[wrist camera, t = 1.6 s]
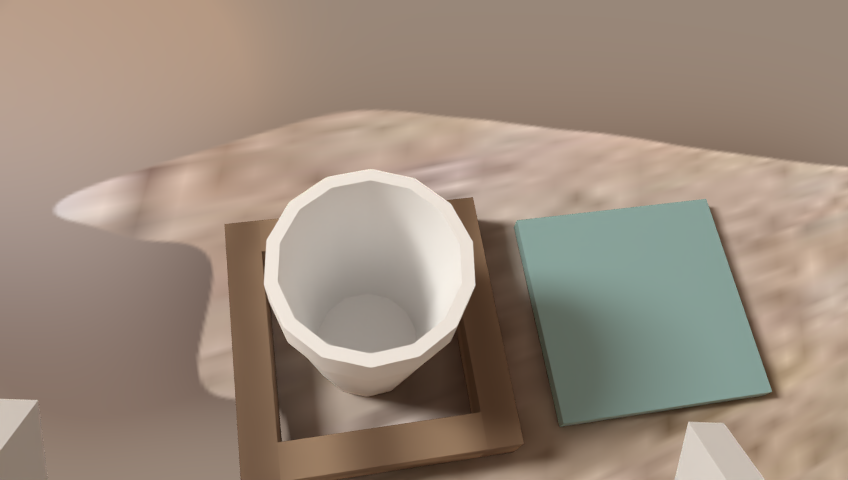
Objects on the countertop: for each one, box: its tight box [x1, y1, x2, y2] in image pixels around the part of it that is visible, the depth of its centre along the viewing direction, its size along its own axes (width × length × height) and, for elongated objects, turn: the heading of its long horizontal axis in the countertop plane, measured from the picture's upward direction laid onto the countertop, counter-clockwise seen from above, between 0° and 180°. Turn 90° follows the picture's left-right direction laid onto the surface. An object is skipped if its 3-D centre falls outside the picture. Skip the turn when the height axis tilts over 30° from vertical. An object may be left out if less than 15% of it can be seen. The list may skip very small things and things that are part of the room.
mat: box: [514, 199, 772, 427], centre depth 47 cm, size 13×13×1 cm
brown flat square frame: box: [225, 197, 524, 480], centre depth 44 cm, size 15×15×3 cm
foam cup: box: [264, 169, 475, 397], centre depth 40 cm, size 10×9×13 cm
